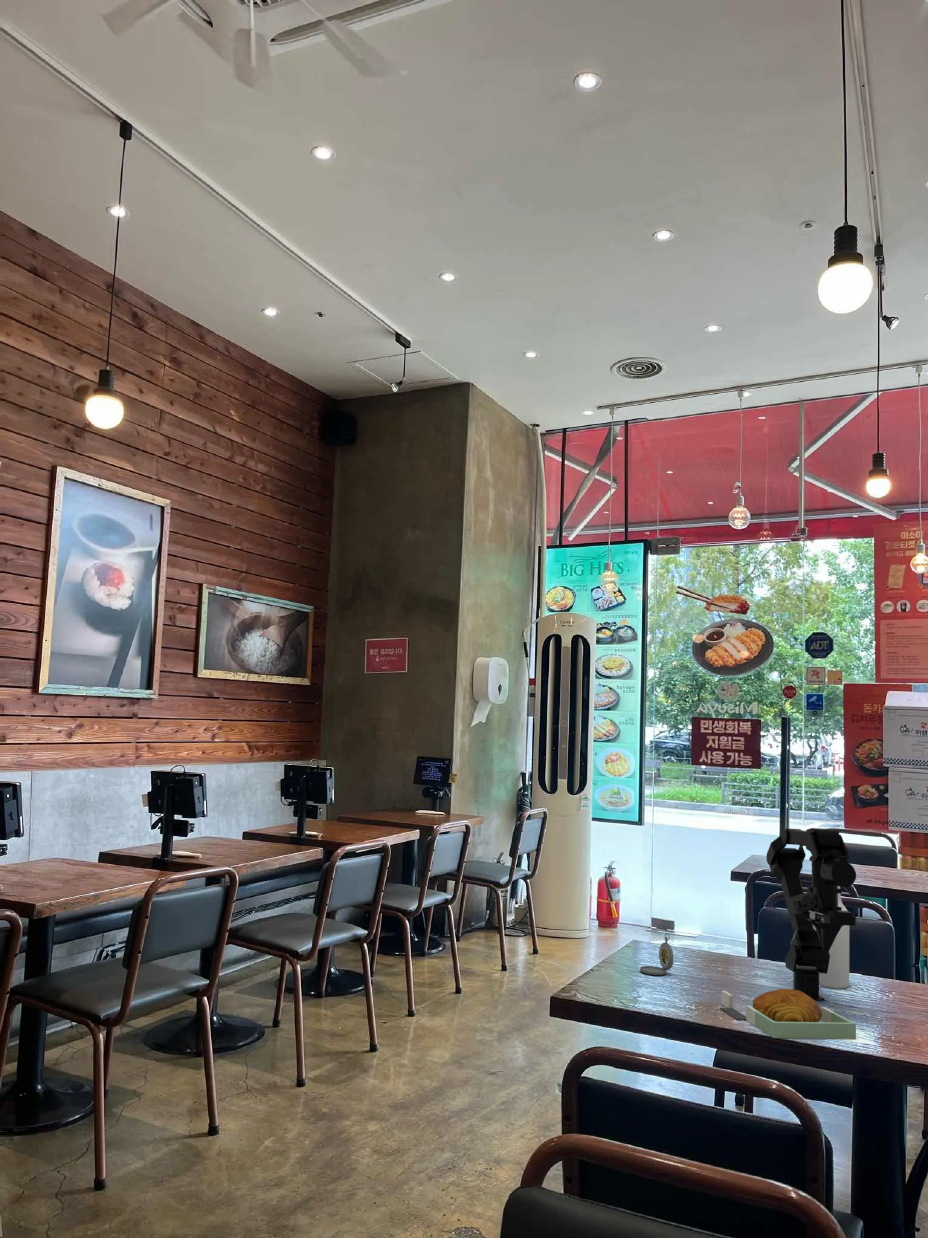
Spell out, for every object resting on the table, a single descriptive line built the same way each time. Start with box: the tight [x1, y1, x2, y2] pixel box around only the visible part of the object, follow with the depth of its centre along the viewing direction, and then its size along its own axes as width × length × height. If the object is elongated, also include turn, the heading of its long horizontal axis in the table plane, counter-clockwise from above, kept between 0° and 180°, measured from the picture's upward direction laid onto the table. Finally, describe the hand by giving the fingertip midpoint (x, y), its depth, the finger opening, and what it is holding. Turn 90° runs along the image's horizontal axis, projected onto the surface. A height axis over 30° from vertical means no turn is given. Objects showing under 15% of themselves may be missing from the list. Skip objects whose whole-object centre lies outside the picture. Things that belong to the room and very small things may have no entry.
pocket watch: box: [639, 932, 674, 976], centre depth 236 cm, size 8×8×10 cm
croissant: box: [752, 988, 822, 1022], centre depth 199 cm, size 14×16×8 cm
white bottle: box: [812, 886, 850, 990], centre depth 237 cm, size 9×9×30 cm
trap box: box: [719, 990, 857, 1040], centre depth 200 cm, size 24×23×3 cm
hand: (825, 952), depth 212 cm, fingers closed
